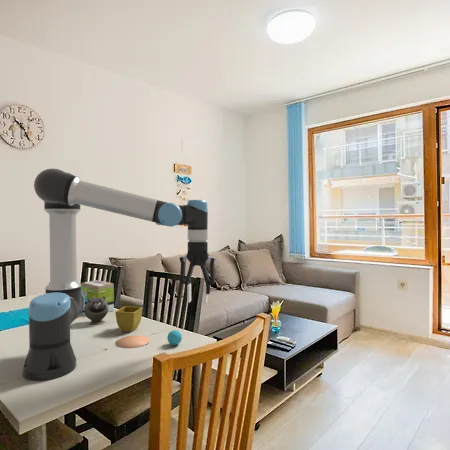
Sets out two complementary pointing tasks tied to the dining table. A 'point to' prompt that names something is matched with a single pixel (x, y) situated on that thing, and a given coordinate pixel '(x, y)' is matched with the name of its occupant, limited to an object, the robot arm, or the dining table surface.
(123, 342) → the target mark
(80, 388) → the dining table surface
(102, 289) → the tea box
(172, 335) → the ball
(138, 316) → the flower pot
